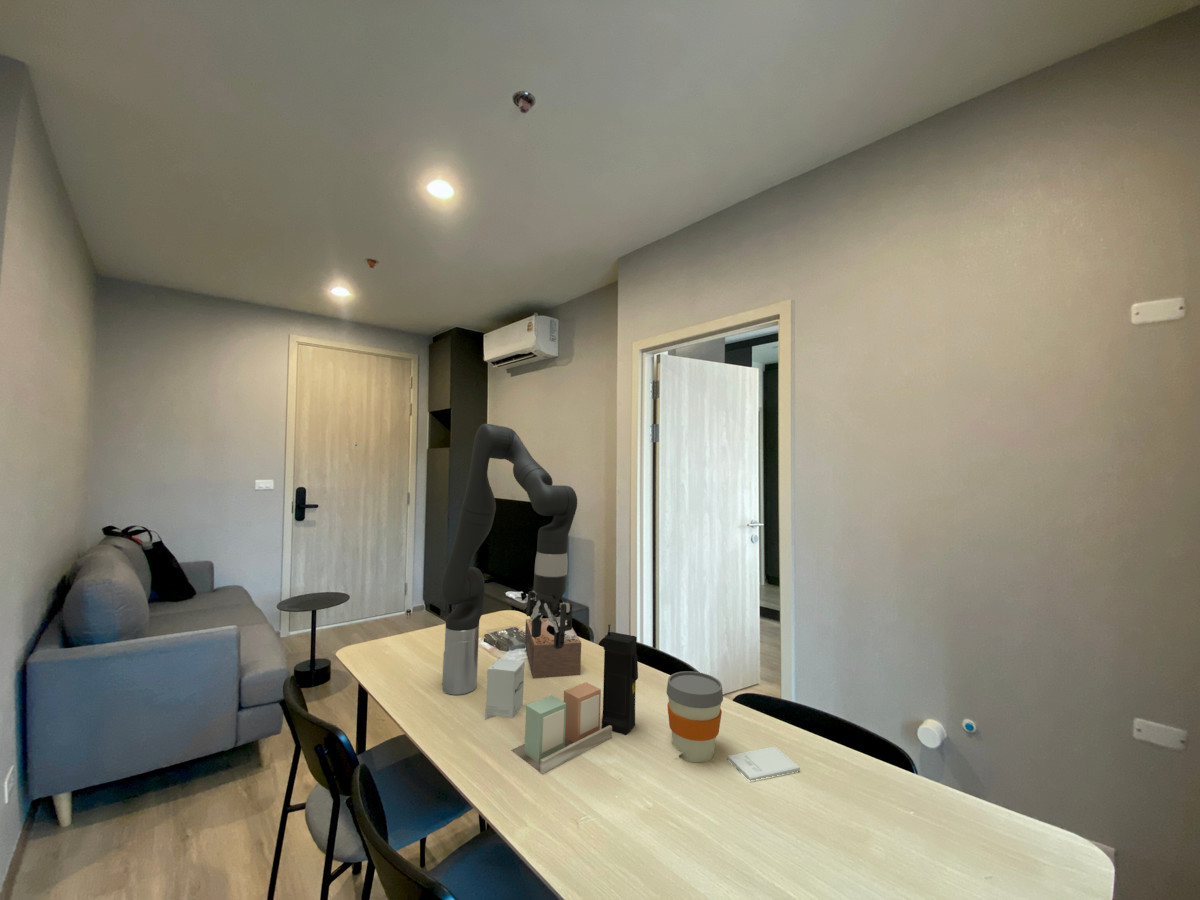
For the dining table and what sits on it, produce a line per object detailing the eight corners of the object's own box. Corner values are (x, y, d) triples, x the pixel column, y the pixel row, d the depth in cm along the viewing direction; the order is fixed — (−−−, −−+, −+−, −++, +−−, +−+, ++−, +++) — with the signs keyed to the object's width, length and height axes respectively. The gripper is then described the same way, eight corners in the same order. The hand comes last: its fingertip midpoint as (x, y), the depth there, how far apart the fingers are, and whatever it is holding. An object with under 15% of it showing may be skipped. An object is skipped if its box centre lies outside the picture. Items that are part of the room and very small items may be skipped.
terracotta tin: (562, 735, 109) (563, 690, 110) (584, 724, 114) (586, 682, 114) (577, 745, 105) (579, 698, 106) (600, 733, 110) (601, 689, 111)
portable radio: (640, 730, 115) (642, 625, 116) (630, 743, 109) (633, 632, 111) (610, 722, 118) (613, 620, 119) (599, 734, 113) (603, 627, 114)
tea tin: (524, 753, 102) (526, 705, 102) (550, 740, 107) (551, 695, 107) (539, 764, 98) (541, 714, 99) (565, 751, 103) (566, 703, 103)
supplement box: (512, 724, 116) (514, 671, 117) (484, 720, 117) (486, 668, 118) (523, 710, 123) (525, 660, 124) (496, 706, 125) (498, 657, 125)
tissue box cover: (580, 675, 146) (581, 642, 146) (532, 679, 142) (534, 645, 143) (565, 645, 171) (566, 617, 171) (524, 648, 167) (525, 619, 167)
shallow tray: (510, 757, 103) (511, 738, 103) (579, 724, 117) (579, 708, 117) (542, 781, 95) (542, 761, 95) (611, 743, 109) (612, 726, 109)
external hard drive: (799, 774, 101) (749, 785, 97) (773, 753, 108) (726, 761, 104) (799, 766, 101) (749, 777, 97) (774, 745, 108) (726, 754, 104)
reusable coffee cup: (711, 774, 99) (712, 700, 99) (656, 754, 105) (657, 685, 106) (729, 746, 109) (730, 679, 110) (678, 729, 116) (679, 666, 117)
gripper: (583, 575, 108) (579, 648, 107) (545, 564, 118) (541, 630, 118) (557, 580, 103) (552, 656, 102) (520, 567, 113) (515, 636, 112)
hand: (546, 642), depth 110 cm, fingers open, 8 cm apart
